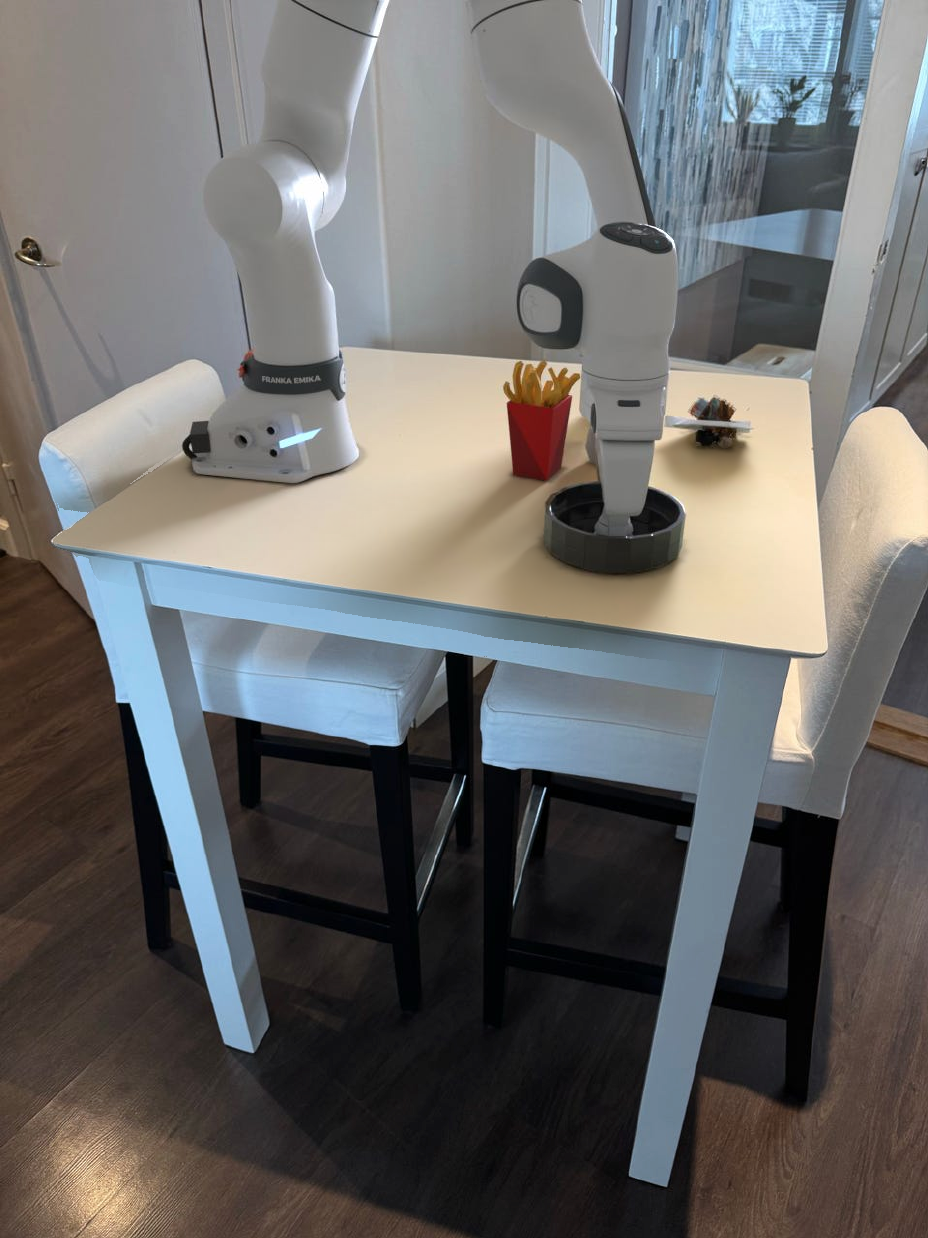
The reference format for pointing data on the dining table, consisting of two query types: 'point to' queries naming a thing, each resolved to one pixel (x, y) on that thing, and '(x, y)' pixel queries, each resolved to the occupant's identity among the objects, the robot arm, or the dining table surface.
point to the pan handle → (597, 467)
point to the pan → (578, 545)
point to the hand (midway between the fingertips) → (612, 519)
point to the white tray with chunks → (710, 422)
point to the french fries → (538, 420)
